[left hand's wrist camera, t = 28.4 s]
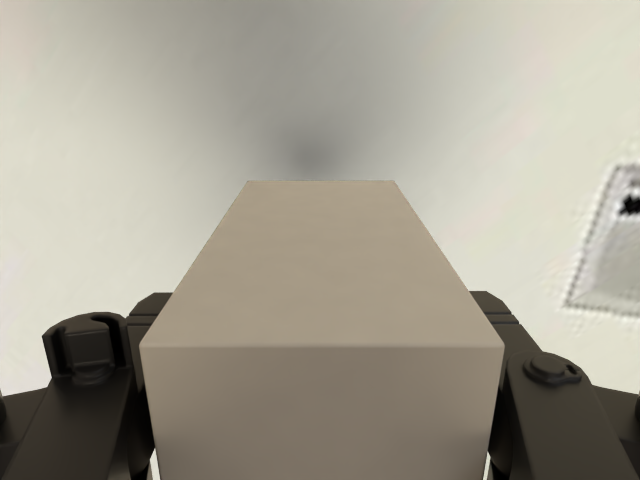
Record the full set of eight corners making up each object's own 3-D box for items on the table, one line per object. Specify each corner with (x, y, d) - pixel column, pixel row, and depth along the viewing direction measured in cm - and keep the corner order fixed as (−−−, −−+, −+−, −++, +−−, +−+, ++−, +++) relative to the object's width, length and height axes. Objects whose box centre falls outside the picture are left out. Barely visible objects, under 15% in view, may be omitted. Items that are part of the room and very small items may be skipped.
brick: (247, 180, 14) (136, 343, 6) (394, 180, 14) (507, 344, 6) (255, 324, 16) (180, 615, 7) (386, 325, 16) (461, 615, 7)
